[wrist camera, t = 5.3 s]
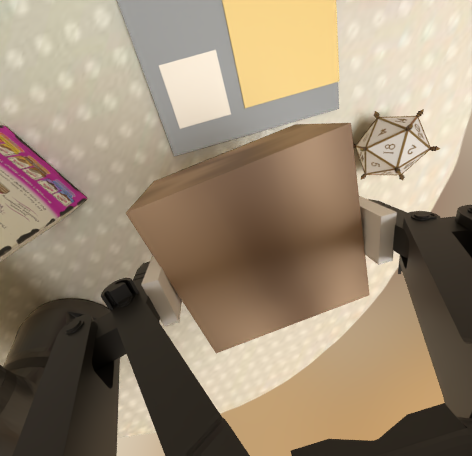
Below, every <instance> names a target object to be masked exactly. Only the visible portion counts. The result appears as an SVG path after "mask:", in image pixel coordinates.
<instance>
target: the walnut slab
mask: <svg viewBox="0 0 472 456" xmlns="http://www.w3.org/2000/svg"><path fill="white" fill-rule="evenodd" d="M126 214H127V216H128V217H129V219H130V220H131V222H132V223H133V225H134V227H135V228H136V230H137V231H138V233H139V234H140V236H141V237H142V239H143V241H144V242H145V244H146V245H147V247H148V248H149V250H150V251H151V253H152V255H153V256H154V258H155V259H156V261H157V262H158V264H159V265H160V267H162V269H163V271H164V273H165V275H166V276H167V278H168V279H169V281H170V282H171V284H172V286H173V287H174V289H175V290H176V292H177V293H178V295H179V296H180V298H181V300H182V301H183V303H184V304H185V306H186V307H187V309H188V310H189V312H190V313H191V315H192V317H193V318H194V320H195V321H196V323H197V324H198V326H199V327H200V329H201V331H202V332H203V334H204V335H205V337H206V338H207V340H208V341H209V343H210V345H211V346H212V348H213V349H214V351H215V352H216V353H218V352H221V351H223V350H226V349H229V348H231V347H234V346H236V345H239V344H242V343H244V342H247V341H250V340H252V339H255V338H258V337H260V336H263V335H265V334H268V333H271V332H273V331H276V330H279V329H281V328H284V327H287V326H289V325H292V324H294V323H297V322H300V321H302V320H305V319H308V318H310V317H313V316H316V315H318V314H321V313H323V312H326V311H329V310H331V309H334V308H337V307H339V306H342V305H345V304H347V303H350V302H352V301H355V300H358V299H360V298H363V297H366V296H368V295H369V286H368V277H367V268H366V259H365V249H364V240H363V231H362V222H361V212H360V203H359V194H358V185H357V175H356V166H355V157H354V148H353V138H352V129H351V123H332V124H300V125H293V126H290V127H288V128H285V129H283V130H280V131H278V132H275V133H273V134H270V135H268V136H265V137H263V138H261V139H258V140H256V141H253V142H251V143H248V144H246V145H243V146H241V147H238V148H236V149H233V150H231V151H228V152H226V153H223V154H221V155H218V156H216V157H213V158H211V159H208V160H206V161H203V162H201V163H198V164H196V165H193V166H191V167H188V168H186V169H184V170H181V171H179V172H176V173H174V174H171V175H169V176H166V177H164V178H161V179H159V180H156V181H154V182H153V183H152V184H151V185H150V186H149V188H148V189H147V190H146V191H145V192H144V193H143V194H142V195H141V196H140V198H139V199H138V200H137V201H136V202H135V203H134V204H133V205H132V207H131V208H130V209H129V210H128V211H127V212H126Z"/></svg>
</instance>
